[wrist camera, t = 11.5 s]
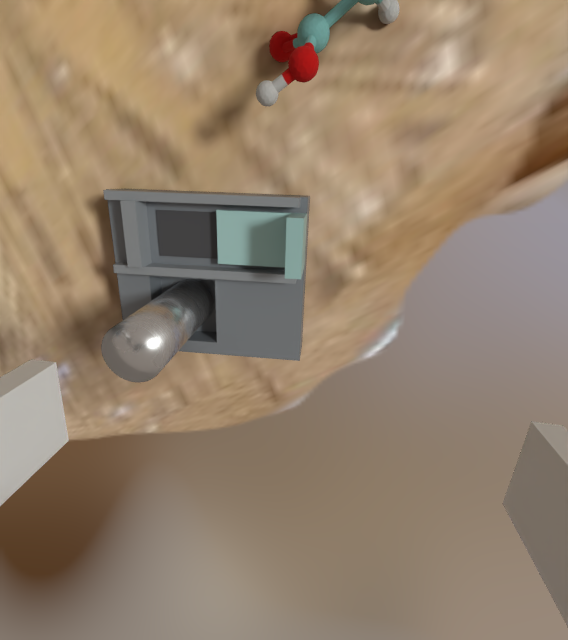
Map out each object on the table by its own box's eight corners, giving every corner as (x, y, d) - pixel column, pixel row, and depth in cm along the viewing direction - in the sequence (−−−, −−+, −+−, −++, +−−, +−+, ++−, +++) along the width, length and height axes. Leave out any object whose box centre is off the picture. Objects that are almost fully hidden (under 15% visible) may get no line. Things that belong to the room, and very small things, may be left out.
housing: (140, 335, 32) (115, 355, 29) (124, 188, 28) (92, 189, 24) (301, 347, 31) (298, 370, 27) (309, 195, 27) (307, 198, 23)
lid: (220, 262, 27) (204, 273, 23) (218, 209, 25) (202, 213, 22) (304, 266, 26) (300, 279, 23) (307, 213, 25) (304, 218, 21)
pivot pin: (172, 320, 31) (106, 379, 22) (169, 278, 30) (97, 322, 21) (215, 322, 31) (165, 384, 21) (213, 280, 29) (160, 326, 20)
